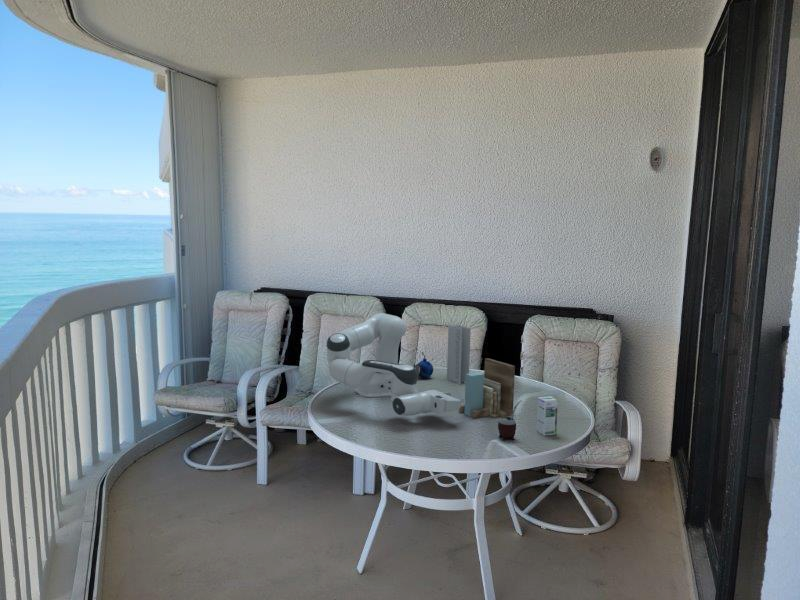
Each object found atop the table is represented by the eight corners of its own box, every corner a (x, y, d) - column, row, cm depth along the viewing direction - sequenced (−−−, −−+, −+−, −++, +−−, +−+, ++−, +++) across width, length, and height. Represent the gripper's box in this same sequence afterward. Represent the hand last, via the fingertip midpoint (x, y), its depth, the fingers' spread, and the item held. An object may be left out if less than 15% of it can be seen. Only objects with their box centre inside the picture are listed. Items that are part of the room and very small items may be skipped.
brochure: (446, 378, 319) (448, 325, 316) (455, 377, 322) (457, 324, 318) (459, 384, 306) (461, 328, 303) (468, 383, 309) (470, 328, 306)
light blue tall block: (470, 416, 252) (471, 376, 250) (464, 413, 255) (465, 374, 253) (482, 414, 255) (484, 374, 253) (476, 411, 259) (478, 372, 257)
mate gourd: (494, 439, 223) (495, 401, 222) (502, 433, 230) (504, 396, 228) (512, 443, 219) (514, 404, 218) (520, 437, 226) (522, 400, 224)
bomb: (410, 377, 319) (410, 351, 318) (424, 375, 326) (425, 349, 325) (422, 381, 312) (422, 354, 310) (436, 378, 319) (437, 351, 317)
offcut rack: (479, 421, 245) (481, 370, 243) (454, 409, 261) (455, 362, 258) (512, 414, 255) (514, 365, 253) (486, 404, 271) (488, 358, 268)
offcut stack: (490, 413, 252) (491, 384, 251) (472, 406, 263) (473, 378, 262) (499, 412, 255) (500, 383, 254) (480, 404, 266) (481, 377, 265)
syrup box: (543, 436, 228) (545, 400, 226) (536, 431, 234) (537, 396, 232) (556, 435, 230) (558, 399, 228) (548, 430, 235) (550, 395, 234)
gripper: (416, 402, 251) (441, 398, 258) (443, 415, 233) (470, 410, 240) (416, 388, 250) (442, 384, 257) (443, 399, 233) (471, 395, 240)
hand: (456, 397), depth 249 cm, fingers open, 8 cm apart
